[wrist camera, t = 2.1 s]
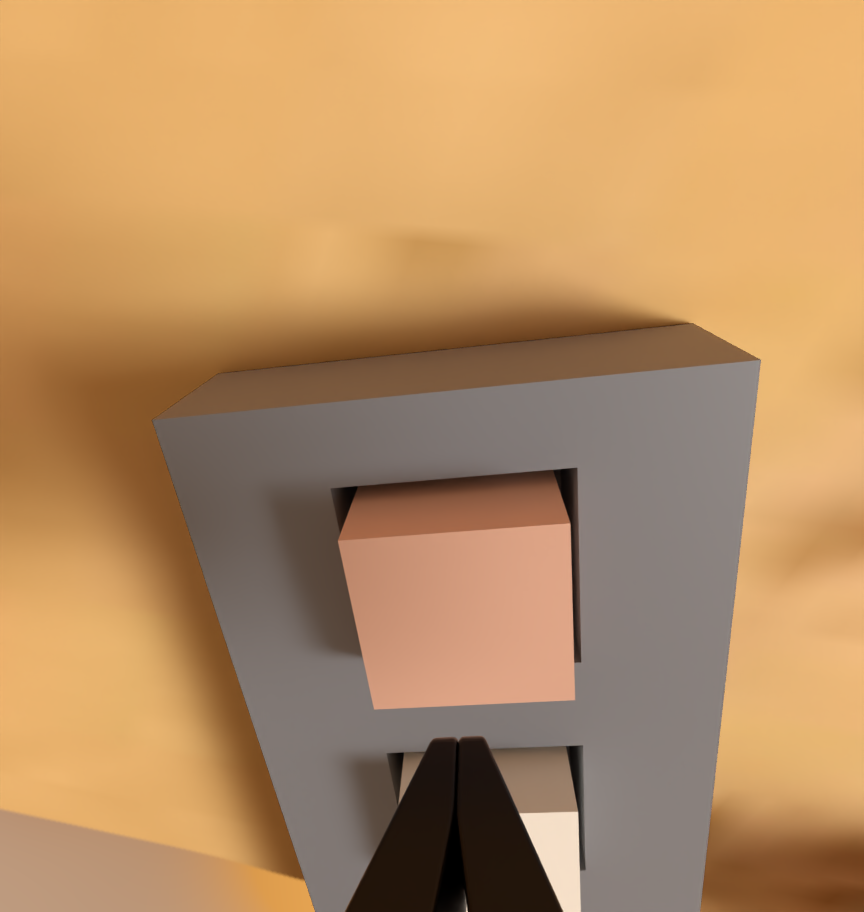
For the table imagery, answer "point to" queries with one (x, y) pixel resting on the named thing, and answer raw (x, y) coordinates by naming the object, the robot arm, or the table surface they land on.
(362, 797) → the keypad
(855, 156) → the table surface
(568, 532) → the terracotta key
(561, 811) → the cream key
